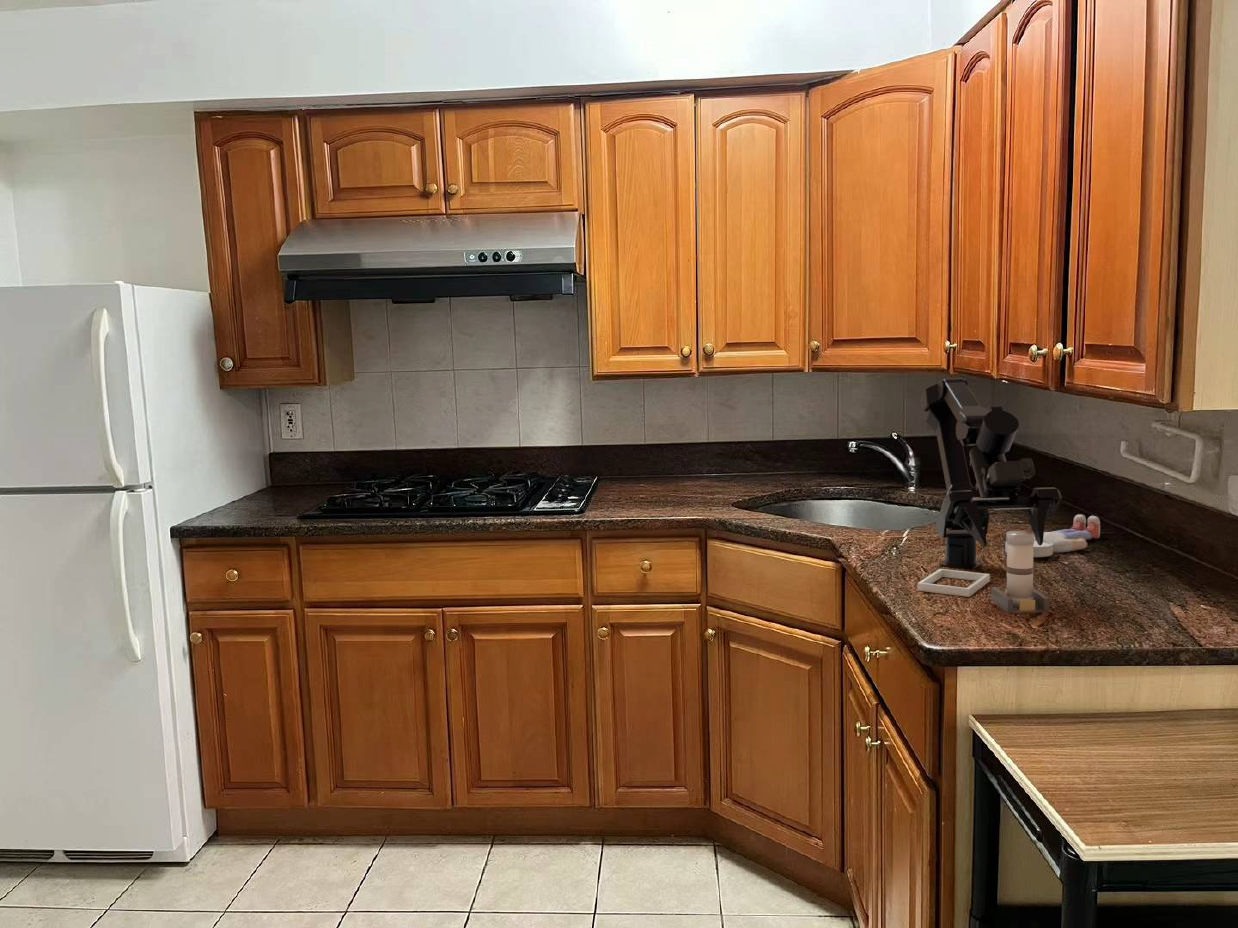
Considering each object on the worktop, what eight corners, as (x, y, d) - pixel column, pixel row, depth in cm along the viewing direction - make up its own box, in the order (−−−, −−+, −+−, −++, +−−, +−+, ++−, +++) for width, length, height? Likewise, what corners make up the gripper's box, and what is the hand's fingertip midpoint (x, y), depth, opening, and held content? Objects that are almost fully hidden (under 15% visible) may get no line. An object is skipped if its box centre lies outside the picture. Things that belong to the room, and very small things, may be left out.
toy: (1059, 511, 218) (988, 528, 199) (1116, 518, 209) (1048, 536, 190) (1058, 536, 219) (988, 555, 200) (1115, 544, 209) (1048, 565, 190)
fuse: (1009, 599, 163) (1010, 529, 161) (1036, 603, 160) (1037, 532, 159) (1002, 605, 160) (1003, 534, 158) (1029, 609, 157) (1030, 536, 156)
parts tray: (940, 581, 181) (940, 568, 181) (989, 587, 176) (989, 574, 175) (917, 596, 171) (917, 583, 171) (969, 603, 166) (969, 589, 166)
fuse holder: (988, 604, 165) (989, 586, 164) (1030, 603, 164) (1030, 585, 164) (1007, 619, 156) (1007, 600, 155) (1051, 618, 155) (1052, 599, 155)
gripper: (947, 444, 166) (967, 519, 156) (1058, 440, 165) (1085, 515, 155) (934, 483, 175) (952, 556, 165) (1040, 480, 174) (1064, 553, 164)
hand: (1013, 544), depth 162 cm, fingers open, 9 cm apart
